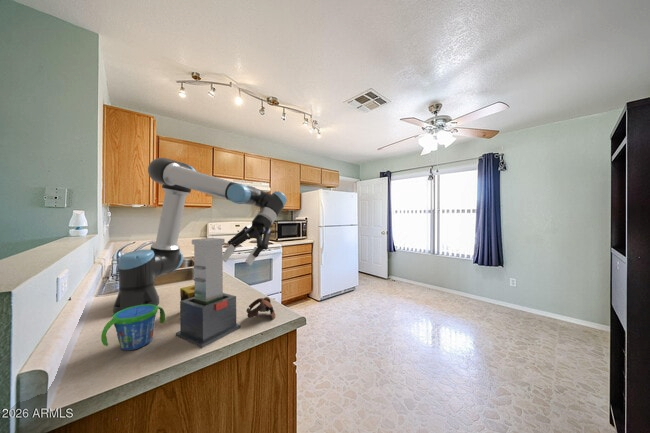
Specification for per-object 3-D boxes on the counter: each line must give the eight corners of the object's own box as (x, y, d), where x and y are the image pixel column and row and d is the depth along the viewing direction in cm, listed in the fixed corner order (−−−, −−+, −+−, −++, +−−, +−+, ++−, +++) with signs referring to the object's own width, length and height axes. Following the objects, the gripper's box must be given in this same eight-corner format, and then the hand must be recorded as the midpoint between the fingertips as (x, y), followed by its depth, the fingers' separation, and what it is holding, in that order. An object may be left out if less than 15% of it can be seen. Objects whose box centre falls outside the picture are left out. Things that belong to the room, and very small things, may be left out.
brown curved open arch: (274, 324, 83) (262, 307, 81) (252, 334, 85) (239, 317, 83) (281, 303, 95) (270, 287, 93) (261, 312, 96) (250, 297, 94)
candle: (216, 312, 93) (216, 287, 93) (188, 320, 86) (188, 293, 86) (206, 305, 100) (206, 282, 100) (180, 312, 93) (179, 287, 93)
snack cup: (108, 364, 61) (108, 325, 61) (95, 352, 66) (94, 316, 66) (173, 337, 74) (173, 305, 74) (157, 329, 79) (157, 299, 79)
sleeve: (175, 335, 75) (175, 301, 75) (214, 318, 87) (214, 289, 87) (201, 348, 68) (201, 310, 68) (240, 327, 80) (240, 295, 80)
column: (191, 311, 76) (191, 239, 76) (212, 304, 82) (211, 237, 82) (205, 316, 72) (204, 240, 72) (225, 308, 79) (224, 238, 79)
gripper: (291, 226, 96) (265, 271, 83) (248, 225, 108) (219, 263, 95) (282, 213, 91) (253, 258, 78) (239, 214, 103) (207, 252, 90)
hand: (235, 261), depth 87 cm, fingers open, 13 cm apart
